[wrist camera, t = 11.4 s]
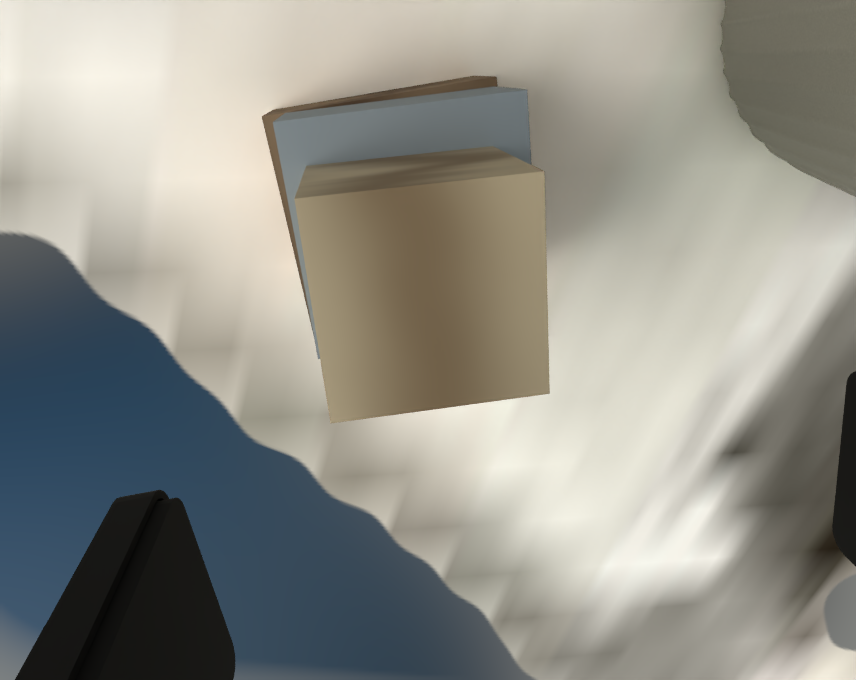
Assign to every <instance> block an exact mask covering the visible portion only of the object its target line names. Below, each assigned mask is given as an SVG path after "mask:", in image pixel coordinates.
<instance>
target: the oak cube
mask: <svg viewBox="0 0 856 680" xmlns="http://www.w3.org/2000/svg"><path fill="white" fill-rule="evenodd" d="M294 200H295V206H296V212H297V219H298V225H299V231H300V237H301V243H302V249H303V256H304V262H305V268H306V274H307V280H308V286H309V293H310V299H311V305H312V311H313V317H314V323H315V330H316V336H317V342H318V348H319V354H320V360H321V367H322V373H323V379H324V385H325V391H326V397H327V403H328V410H329V416H330V422H331V423H337V422H344V421H352V420H359V419H366V418H374V417H381V416H388V415H396V414H403V413H410V412H418V411H425V410H433V409H440V408H447V407H455V406H462V405H469V404H477V403H484V402H491V401H499V400H506V399H513V398H521V397H528V396H535V395H543V394H550V391H549V348H548V305H547V262H546V219H545V177H544V171H543V170H541V169H539V168H537V167H535V166H532V165H530V164H528V163H526V162H524V161H522V160H520V159H518V158H516V157H514V156H512V155H510V154H508V153H506V152H504V151H502V150H500V149H498V148H496V147H494V146H489V147H479V148H470V149H460V150H451V151H441V152H432V153H423V154H413V155H404V156H394V157H385V158H375V159H366V160H357V161H347V162H338V163H328V164H319V165H309V166H306V168H305V170H304V173H303V176H302V179H301V181H300V184H299V187H298V190H297V193H296V195H295V198H294Z"/></svg>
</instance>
